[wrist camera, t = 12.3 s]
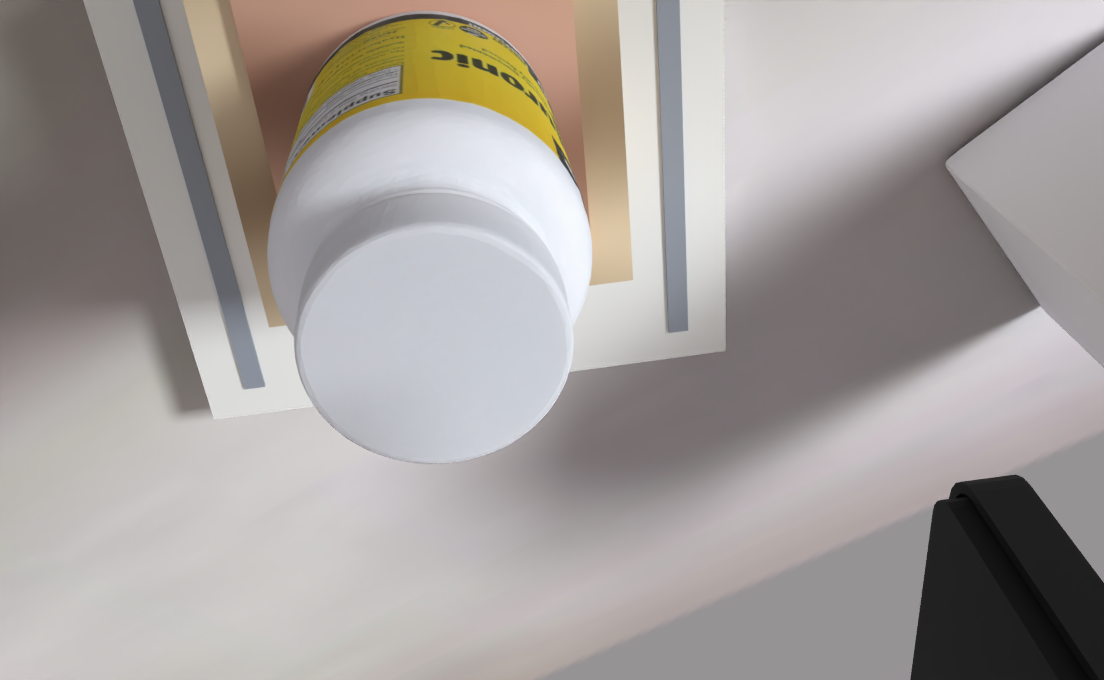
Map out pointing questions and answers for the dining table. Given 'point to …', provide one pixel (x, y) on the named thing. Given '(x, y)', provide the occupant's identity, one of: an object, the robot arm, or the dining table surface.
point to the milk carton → (1049, 195)
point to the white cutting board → (609, 309)
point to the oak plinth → (352, 3)
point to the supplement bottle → (429, 241)
